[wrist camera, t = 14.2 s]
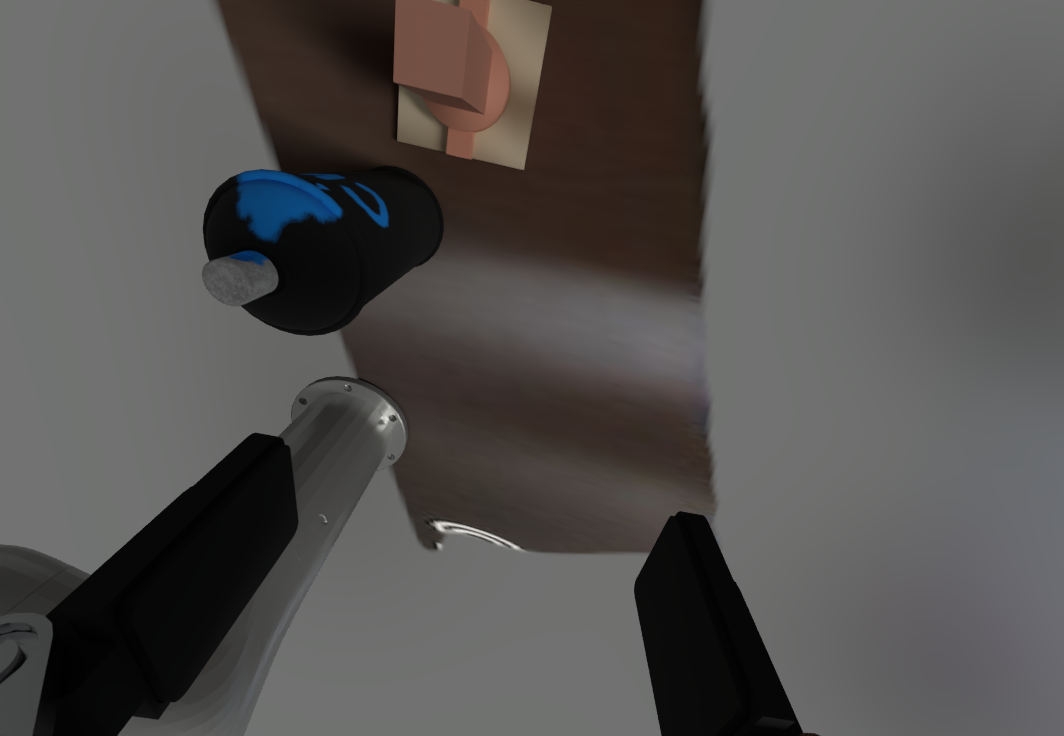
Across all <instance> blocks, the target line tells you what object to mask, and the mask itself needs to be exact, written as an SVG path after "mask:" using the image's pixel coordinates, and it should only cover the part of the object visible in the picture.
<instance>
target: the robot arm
mask: <svg viewBox="0 0 1064 736" xmlns="http://www.w3.org/2000/svg"><path fill="white" fill-rule="evenodd" d="M291 418H292V423H291V424H290V425H289V426H288V427H287V428H286V429H285V430H284V431H283V432H282V433H281V434H280V435H279V436H278V437H276V436H271V435H265V434H260V433H253V434H251V435H249V436H248V437H247V438H246V439H245V440H244V441H243V442H241V443H240V444H239V445H238V446H237V447H236V448H235V449H234V450H233V451H232V452H231V453H229V454H228V455H227V456H226V457H225V458H224V459H223V460H222V461H220V462H219V463H218V464H217V465H216V466H215V467H214V468H213V469H211V470H210V471H209V472H208V473H207V474H206V475H205V476H204V477H203V478H202V479H200V481H198V482H197V483H196V484H195V485H194V486H192V487H190V488H189V489H188V490H186V491H185V492H183V493H182V494H181V495H180V496H179V497H178V498H176V500H174V501H173V502H172V503H171V504H170V505H169V506H168V507H167V508H165V509H164V510H163V511H162V512H161V513H160V514H159V515H157V516H156V517H155V518H154V519H153V520H152V521H151V522H150V523H149V524H148V525H146V526H145V527H144V528H143V529H142V530H141V531H140V532H139V533H137V534H136V535H135V536H134V537H133V538H132V539H131V540H130V541H128V542H127V543H126V544H125V545H124V546H123V547H122V548H121V549H120V550H118V551H117V552H116V553H115V554H114V555H113V556H112V557H111V558H110V559H108V560H107V561H106V562H105V563H104V564H103V565H102V566H101V567H99V568H98V570H96V571H95V572H94V573H93V574H92V575H90V574H88V573H86V572H83V571H81V570H79V569H77V568H75V567H73V566H71V565H68V564H66V563H64V562H62V561H60V560H58V559H56V558H53V557H51V556H48V555H46V554H43V553H41V552H38V551H35V550H32V549H28V548H25V547H19V546H11V545H0V736H243V735H244V733H245V731H246V728H247V726H248V723H249V721H250V718H251V716H252V713H253V710H254V708H255V705H256V703H257V700H258V697H259V695H260V692H261V690H262V687H263V685H264V682H265V680H266V677H267V675H268V672H269V670H270V667H271V665H272V663H273V660H274V658H275V656H276V653H277V651H278V649H279V646H280V644H281V642H282V640H283V638H284V636H285V634H286V632H287V630H288V628H289V626H290V624H291V622H292V620H293V618H294V616H295V614H296V612H297V610H298V609H299V607H300V605H301V603H302V601H303V599H304V597H305V596H306V594H307V592H308V590H309V588H310V586H311V585H312V583H313V581H314V579H315V578H316V576H317V574H318V572H319V570H320V569H321V567H322V565H323V563H324V561H325V560H326V558H327V556H328V554H329V553H330V551H331V549H332V547H333V546H334V544H335V542H336V540H337V538H338V537H339V535H340V533H341V532H342V529H343V528H344V526H345V524H346V523H347V521H348V519H349V517H350V516H351V514H352V512H353V510H354V509H355V507H356V505H357V503H358V501H359V500H360V498H361V496H362V495H363V493H364V491H365V489H366V488H367V486H368V484H369V482H370V481H371V479H372V477H373V475H374V473H375V471H379V470H382V469H385V468H387V467H389V466H390V465H392V464H393V463H395V462H396V461H397V460H398V458H399V457H400V456H401V454H402V452H403V451H404V449H405V446H406V443H407V440H408V428H407V422H406V420H405V417H404V415H403V413H402V411H401V410H400V408H399V407H398V405H397V404H396V403H395V402H394V401H393V400H392V399H391V398H390V397H389V396H388V395H387V394H385V393H384V392H383V391H382V390H380V389H378V388H377V387H375V386H373V385H372V384H369V383H367V382H364V381H362V380H359V379H354V378H350V377H339V376H336V377H326V378H323V379H319V380H317V381H315V382H313V383H311V384H309V385H308V386H307V387H306V388H305V389H303V390H302V391H301V392H300V393H299V395H298V396H297V397H296V399H295V401H294V403H293V405H292V411H291ZM634 594H635V600H636V605H637V610H638V616H639V621H640V626H641V631H642V636H643V642H644V647H645V652H646V657H647V662H648V668H649V673H650V678H651V683H652V688H653V694H654V699H655V704H656V709H657V714H658V720H659V724H660V730H661V735H662V736H820V735H817V734H815V733H803V731H802V729H801V727H800V725H799V722H798V720H797V718H796V716H795V714H794V711H793V709H792V707H791V704H790V702H789V700H788V698H787V695H786V693H785V691H784V689H783V686H782V684H781V682H780V679H779V677H778V675H777V673H776V670H775V668H774V666H773V664H772V661H771V659H770V657H769V655H768V652H767V650H766V648H765V645H764V643H763V641H762V639H761V637H760V634H759V632H758V630H757V627H756V625H755V623H754V621H753V618H752V616H751V614H750V612H749V609H748V607H747V605H746V603H745V601H744V598H743V596H742V593H741V591H740V589H739V587H738V586H737V584H736V582H735V581H734V580H733V578H732V576H731V573H730V571H729V569H728V566H727V564H726V562H725V560H724V557H723V555H722V553H721V550H720V548H719V546H718V544H717V541H716V539H715V537H714V534H713V532H712V530H711V528H710V525H709V523H708V521H707V519H706V518H705V517H704V516H703V515H698V514H693V513H687V512H682V511H679V512H678V513H677V514H676V515H675V516H670V517H669V519H668V521H667V522H666V524H665V526H664V528H663V530H662V532H661V534H660V536H659V537H658V539H657V541H656V543H655V545H654V547H653V549H652V551H651V553H650V554H649V556H648V558H647V560H646V562H645V564H644V566H643V568H642V569H641V571H640V574H639V575H638V577H637V579H636V581H635V587H634Z"/></svg>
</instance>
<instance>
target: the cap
mask: <svg viewBox="0 0 1064 736" xmlns="http://www.w3.org/2000/svg"><path fill="white" fill-rule="evenodd" d="M489 8H490V0H460V3H459V7H457V6H453V5H450V4H446V3H442V2H438V1H434V0H396V9H395V42H394V75H393V82H394V83H396V84H398V85H400V86H402V87H404V88H406V89H408V90H410V91H412V92H414V93H416V94H418V95H420V96H422V97H423V99H424V102H425V103H426V105H427V107H428V108H429V110H430V111H431V113H432V114H433V115H434V116H435V117H436V118H437V119H438V120H439V121H440V122H442V123H443V124H445V125H446V126H448V138H447V149H446V154H449V155H453V156H457V157H462V158H466V159H472V153H473V145H474V136H475V133H476V132H481V131H484V130H486V129H488V128H490V127H491V126H492V125H494V124H495V123H496V122H497V121H498V120H499V118H500V117H501V116H502V114H503V113H504V111H505V109H506V106H507V103H508V100H509V96H510V88H511V80H510V72H509V68H508V64H507V62H506V59H505V57H504V54H503V52H502V50H501V48H500V46H499V44H498V43H497V41H496V39H495V38H494V37H493V36H492V35H491V33H490V32H488V31H487V25H488V16H489Z"/></svg>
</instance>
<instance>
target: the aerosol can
mask: <svg viewBox="0 0 1064 736" xmlns="http://www.w3.org/2000/svg"><path fill="white" fill-rule="evenodd" d="M443 231H444V225H443V216H442V211H441V208H440V205H439V203H438V200H437V199H436V197H435V195H434V194H433V192H432V190H431V189H430V188H429V187H428V186H427V185H426V184H425V182H423V181H422V180H421V179H420V178H418V177H417V176H416V175H414V174H412V173H410V172H409V171H407V170H404V169H400V168H397V167H388V166H386V167H378V168H375V169H372V170H370V171H358V172H336V173H315V174H293V175H291V174H287V173H284V172H281V171H274V170H263V169H260V170H253V171H246V172H243V173H240V174H238V175H236V176H233V177H231V178H229V179H228V180H227V181H225V182H224V183H223V184H222V185H220V186H219V187H218V188H217V189H216V191H215V192H214V194H213V195H212V197H211V198H210V199H209V202H208V205H207V208H206V211H205V213H204V224H203V234H204V244H205V248H206V251H207V254H208V258H209V262H208V263H207V264H206V265H205V266H204V268H203V271H202V277H203V281H204V284H205V286H206V288H207V290H208V291H209V292H210V294H211V295H212V296H213V297H215V298H216V299H217V300H219V301H220V302H222V303H224V304H227V305H230V306H242V307H243V308H244V309H245V310H246V311H248V312H249V313H250V314H251V315H253V316H254V317H256V318H258V319H259V320H261V321H262V322H264V323H265V324H267V325H270V326H272V327H274V328H277V329H279V330H281V331H285V332H288V333H293V334H297V335H307V336H313V335H324V334H327V333H331V332H334V331H337V330H339V329H341V328H343V327H344V326H346V325H348V324H349V323H350V322H351V321H352V320H353V319H354V318H355V317H356V316H357V315H358V314H359V312H360V311H361V309H362V307H363V306H364V305H365V304H367V303H368V302H369V301H371V300H372V299H373V298H375V297H376V296H377V295H378V294H380V293H381V292H382V291H384V290H385V289H386V288H388V287H389V286H390V285H392V284H393V283H394V282H395V281H397V280H398V279H399V278H401V277H402V276H403V275H405V274H406V273H407V272H409V271H410V270H411V269H412V268H414V267H417V266H420V265H422V264H423V263H425V262H427V261H428V260H429V259H430V258H431V257H432V256H433V255H434V254H435V253H436V251H437V250H438V248H439V246H440V243H441V241H442V236H443Z"/></svg>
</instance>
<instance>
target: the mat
mask: <svg viewBox="0 0 1064 736" xmlns="http://www.w3.org/2000/svg"><path fill="white" fill-rule="evenodd" d="M434 1H438V2H442V3H446V4H450V5H453V6H457V7H459V3H460V0H434ZM551 11H552V6H548V5H544V4H540V3H537V2H533V1H529V0H490V8H489V16H488V25H487V31H488V32H490V33H491V35H492V36H493V37H494V38H495V39H496V41H497V43H498V44H499V46H500V48H501V50H502V52H503V54H504V57H505V59H506V62H507V64H508V68H509V72H510V80H511V88H510V96H509V100H508V103H507V106H506V109H505V111H504V113H503V114H502V116H501V117H500V118H499V120H498V121H497V122H496V123H495V124H494V125H492V126H491V127H490V128H488V129H486V130H484V131H481V132H476V133H475V136H474V145H473V153H472V158H474V159H478V160H482V161H487V162H491V163H495V164H500V165H504V166H508V167H513V168H517V169H521V170H524V166H525V161H526V155H527V149H528V143H529V138H530V132H531V126H532V120H533V115H534V109H535V103H536V97H537V92H538V86H539V80H540V74H541V69H542V63H543V57H544V51H545V46H546V40H547V34H548V28H549V23H550V17H551ZM447 138H448V126H446V125H445V124H443V123H442V122H440V121H439V120H438V119H437V118H436V117H435V116H434V115H433V114H432V113H431V111H430V110H429V108H428V107H427V105H426V103H425V102H424V99H423V97H422V96H420V95H418V94H416V93H414V92H412V91H410V90H408V89H406V88H404V87H402V86H400V85H399V104H398V133H397V141H400V142H404V143H409V144H413V145H417V146H422V147H426V148H430V149H435V150H439V151H443V152H446V149H447Z"/></svg>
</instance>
